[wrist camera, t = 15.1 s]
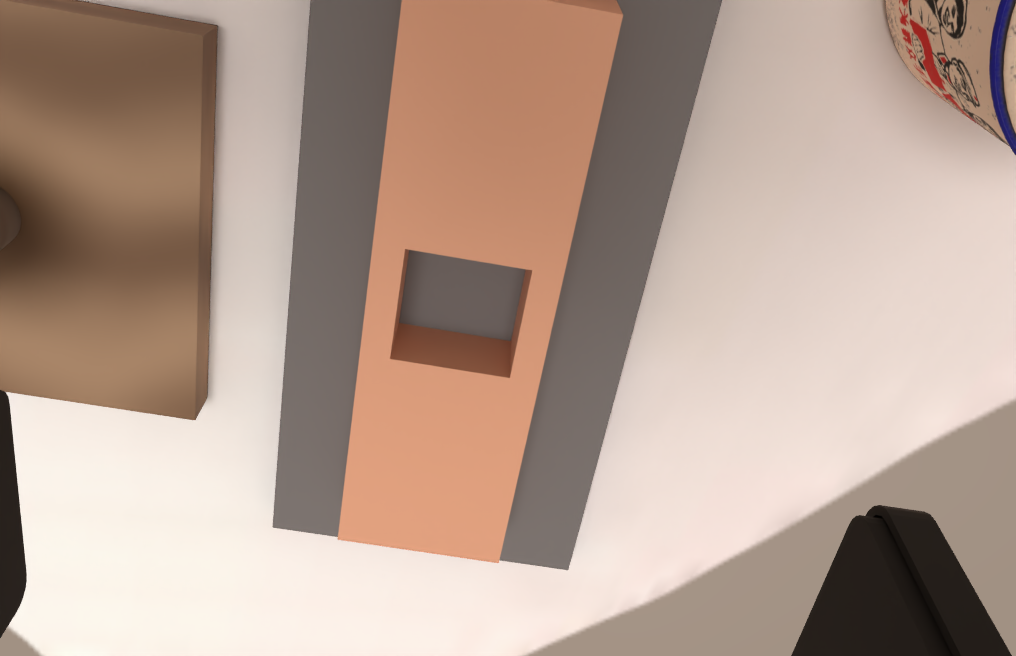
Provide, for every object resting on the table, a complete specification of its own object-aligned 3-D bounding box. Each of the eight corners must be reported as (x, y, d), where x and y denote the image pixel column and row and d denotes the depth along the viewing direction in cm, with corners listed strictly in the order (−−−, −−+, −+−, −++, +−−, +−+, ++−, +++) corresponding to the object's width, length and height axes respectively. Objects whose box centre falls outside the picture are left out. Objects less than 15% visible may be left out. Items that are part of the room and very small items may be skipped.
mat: (326, -131, 28) (320, -129, 27) (729, -54, 29) (735, -50, 28) (278, 511, 39) (272, 527, 38) (567, 553, 40) (568, 570, 39)
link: (414, -40, 28) (405, -27, 26) (615, -2, 28) (623, 14, 26) (348, 496, 37) (337, 539, 35) (500, 519, 38) (498, 563, 36)
